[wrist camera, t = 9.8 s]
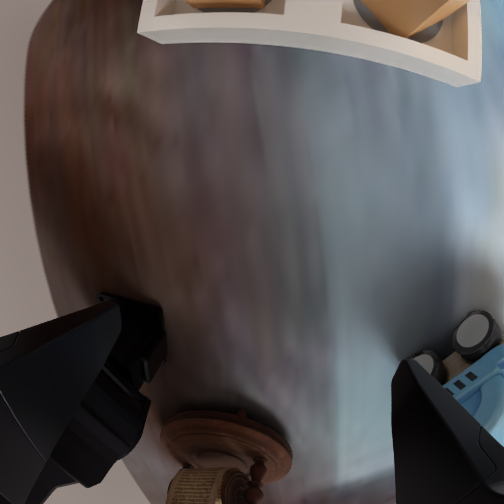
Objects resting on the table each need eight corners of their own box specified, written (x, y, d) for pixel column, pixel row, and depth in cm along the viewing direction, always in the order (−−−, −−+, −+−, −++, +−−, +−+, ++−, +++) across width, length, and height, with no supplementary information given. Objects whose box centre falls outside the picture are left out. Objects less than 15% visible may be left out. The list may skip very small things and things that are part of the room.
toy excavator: (334, 401, 26) (328, 576, 11) (486, 293, 20) (592, 457, 4) (381, 435, 28) (389, 577, 12) (512, 346, 21) (583, 482, 6)
